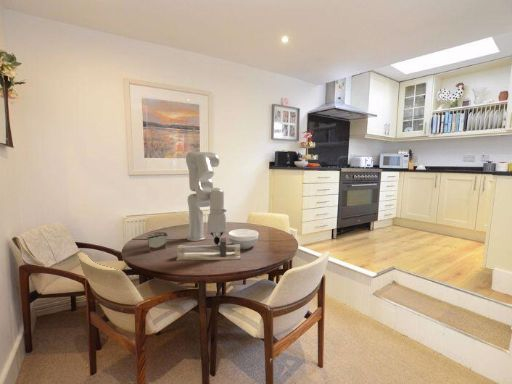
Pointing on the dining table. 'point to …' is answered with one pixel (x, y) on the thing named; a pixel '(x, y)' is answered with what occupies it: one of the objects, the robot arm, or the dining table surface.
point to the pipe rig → (207, 255)
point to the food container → (157, 241)
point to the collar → (223, 247)
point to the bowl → (243, 237)
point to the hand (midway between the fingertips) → (216, 244)
